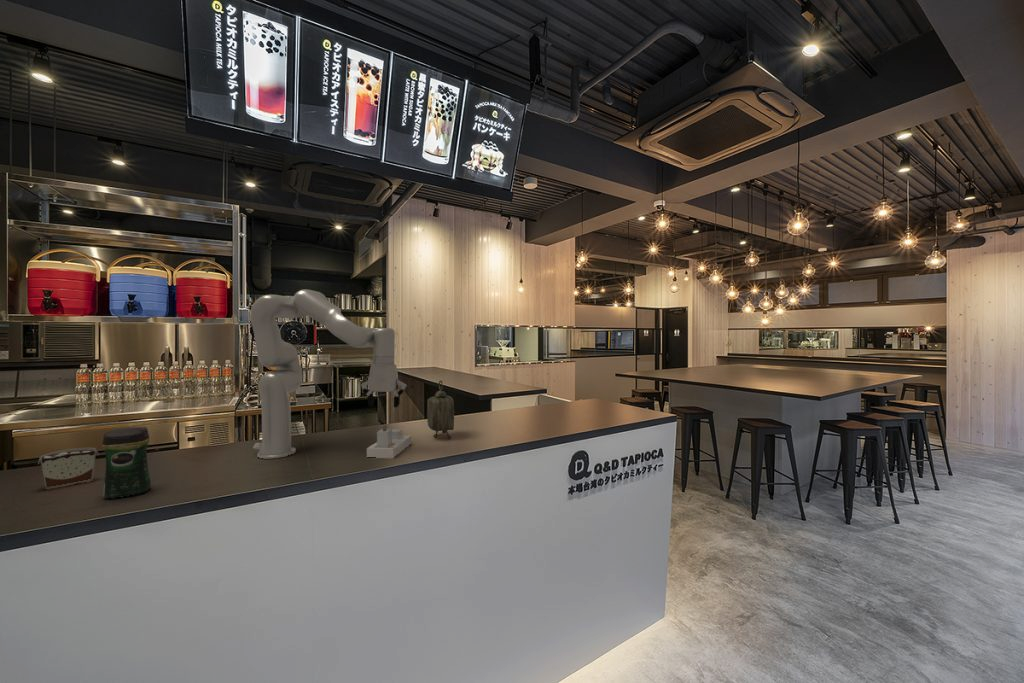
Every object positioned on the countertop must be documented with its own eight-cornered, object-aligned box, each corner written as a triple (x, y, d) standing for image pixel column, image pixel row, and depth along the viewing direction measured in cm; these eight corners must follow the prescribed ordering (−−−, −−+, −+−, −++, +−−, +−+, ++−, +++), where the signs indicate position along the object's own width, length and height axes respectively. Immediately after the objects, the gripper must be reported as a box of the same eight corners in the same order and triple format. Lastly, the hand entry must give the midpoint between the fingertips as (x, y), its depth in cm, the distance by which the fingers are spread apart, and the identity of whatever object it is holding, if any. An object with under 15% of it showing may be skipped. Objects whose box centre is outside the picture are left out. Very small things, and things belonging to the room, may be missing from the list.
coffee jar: (153, 486, 122) (152, 423, 121) (146, 495, 115) (145, 429, 115) (109, 492, 117) (108, 427, 117) (98, 502, 110) (97, 433, 110)
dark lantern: (454, 440, 175) (453, 381, 174) (433, 442, 171) (432, 382, 171) (446, 432, 188) (446, 378, 188) (427, 434, 185) (426, 379, 185)
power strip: (366, 457, 149) (366, 440, 149) (387, 443, 169) (387, 428, 169) (393, 458, 149) (393, 440, 148) (411, 444, 168) (411, 428, 168)
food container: (96, 476, 131) (96, 445, 131) (98, 480, 127) (98, 448, 127) (37, 487, 121) (36, 453, 121) (38, 492, 117) (37, 457, 117)
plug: (377, 453, 151) (377, 426, 151) (381, 450, 156) (381, 423, 156) (387, 453, 151) (387, 426, 151) (392, 450, 156) (392, 424, 156)
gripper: (357, 361, 150) (356, 407, 150) (403, 361, 149) (402, 408, 149) (366, 360, 158) (365, 404, 158) (409, 360, 156) (409, 405, 156)
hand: (383, 406), depth 153 cm, fingers open, 9 cm apart
